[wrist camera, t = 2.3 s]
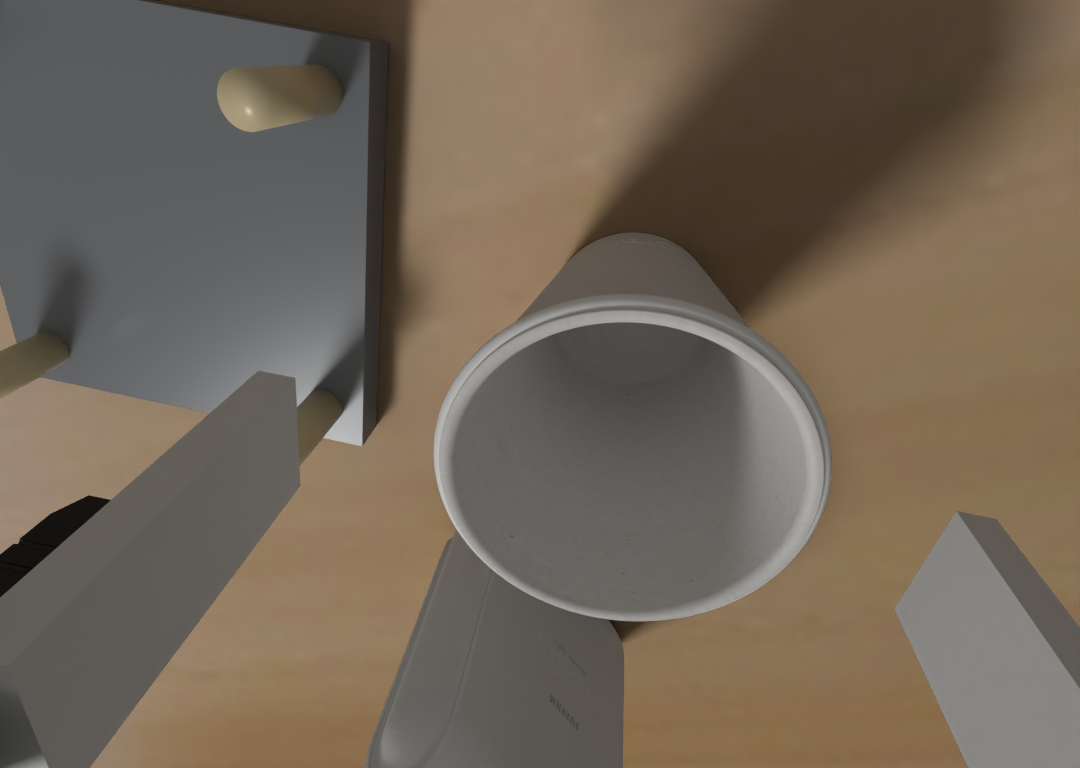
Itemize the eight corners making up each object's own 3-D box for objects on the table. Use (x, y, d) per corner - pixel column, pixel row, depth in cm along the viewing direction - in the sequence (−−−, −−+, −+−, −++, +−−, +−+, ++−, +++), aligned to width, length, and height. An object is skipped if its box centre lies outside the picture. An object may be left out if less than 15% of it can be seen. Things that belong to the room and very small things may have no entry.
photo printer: (638, 644, 30) (637, 984, 19) (563, 669, 31) (522, 997, 20) (513, 489, 26) (425, 795, 16) (436, 526, 28) (308, 827, 17)
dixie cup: (522, 175, 20) (431, 271, 12) (784, 207, 20) (899, 335, 11) (505, 397, 24) (429, 593, 16) (723, 430, 24) (770, 654, 15)
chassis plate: (388, 42, 19) (303, 41, 14) (376, 426, 26) (315, 512, 21) (-43, -36, 20) (-264, -63, 15) (56, 357, 26) (-74, 426, 22)
